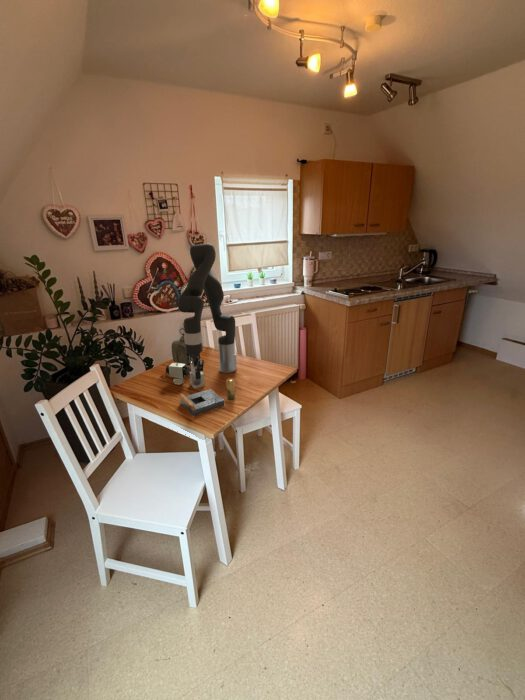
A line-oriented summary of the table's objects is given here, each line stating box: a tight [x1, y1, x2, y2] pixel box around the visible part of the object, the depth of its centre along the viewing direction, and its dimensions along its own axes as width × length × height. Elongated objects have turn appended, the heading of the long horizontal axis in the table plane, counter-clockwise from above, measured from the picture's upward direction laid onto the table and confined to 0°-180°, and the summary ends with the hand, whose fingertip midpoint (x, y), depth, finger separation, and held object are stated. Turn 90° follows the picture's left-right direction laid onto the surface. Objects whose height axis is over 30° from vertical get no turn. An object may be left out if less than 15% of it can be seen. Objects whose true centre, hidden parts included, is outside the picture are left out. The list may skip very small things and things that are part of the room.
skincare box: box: [189, 371, 206, 389], centre depth 170 cm, size 6×6×7 cm
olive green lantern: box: [171, 327, 190, 367], centre depth 188 cm, size 14×9×25 cm, turn 54°
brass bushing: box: [225, 378, 236, 402], centre depth 156 cm, size 4×4×10 cm
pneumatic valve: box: [165, 362, 191, 386], centre depth 172 cm, size 6×12×12 cm, turn 78°
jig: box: [179, 388, 225, 417], centre depth 152 cm, size 16×14×5 cm
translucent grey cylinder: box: [190, 362, 201, 386], centre depth 146 cm, size 4×4×10 cm
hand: (196, 376), depth 146 cm, fingers closed on translucent grey cylinder, 4 cm apart
